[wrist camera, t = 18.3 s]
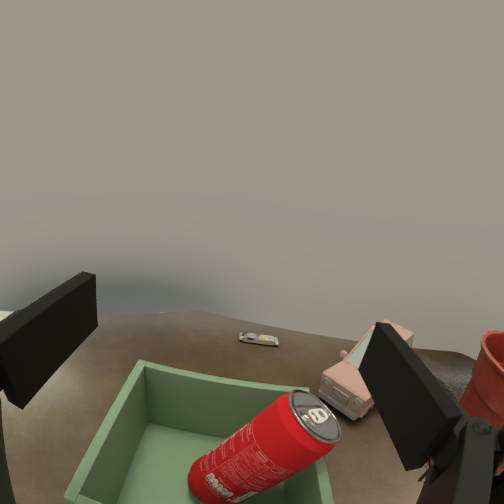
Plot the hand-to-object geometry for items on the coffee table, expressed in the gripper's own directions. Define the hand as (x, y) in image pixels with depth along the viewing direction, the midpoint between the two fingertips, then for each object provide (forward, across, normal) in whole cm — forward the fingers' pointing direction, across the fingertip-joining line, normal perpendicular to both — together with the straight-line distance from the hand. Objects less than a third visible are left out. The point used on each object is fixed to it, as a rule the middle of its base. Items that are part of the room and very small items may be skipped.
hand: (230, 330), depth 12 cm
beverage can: (+1, 0, -17) cm, 17 cm away
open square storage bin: (+1, 0, -19) cm, 19 cm away
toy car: (+19, +20, -20) cm, 34 cm away
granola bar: (+31, +5, -19) cm, 37 cm away
